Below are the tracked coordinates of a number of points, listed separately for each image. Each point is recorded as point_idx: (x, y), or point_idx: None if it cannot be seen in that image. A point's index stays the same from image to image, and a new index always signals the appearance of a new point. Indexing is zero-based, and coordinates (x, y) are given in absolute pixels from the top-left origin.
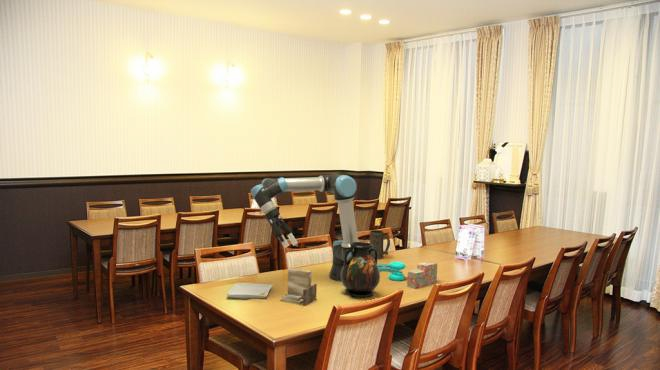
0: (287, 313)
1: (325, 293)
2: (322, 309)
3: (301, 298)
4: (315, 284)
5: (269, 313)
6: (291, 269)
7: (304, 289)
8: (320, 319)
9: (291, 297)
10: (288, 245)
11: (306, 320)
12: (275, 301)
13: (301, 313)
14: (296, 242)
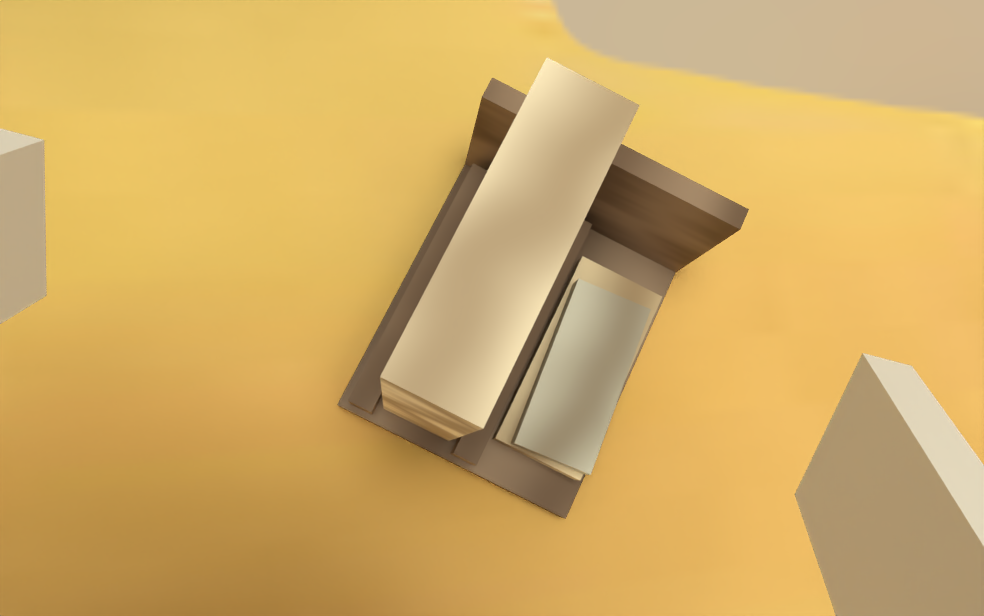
0: None
1: (212, 59)
2: (694, 106)
3: (575, 282)
4: (511, 91)
5: None
6: (490, 372)
7: (729, 216)
8: (926, 129)
9: (620, 382)
10: (913, 378)
11: (969, 237)
12: (525, 561)
13: (821, 283)
14: (17, 164)
